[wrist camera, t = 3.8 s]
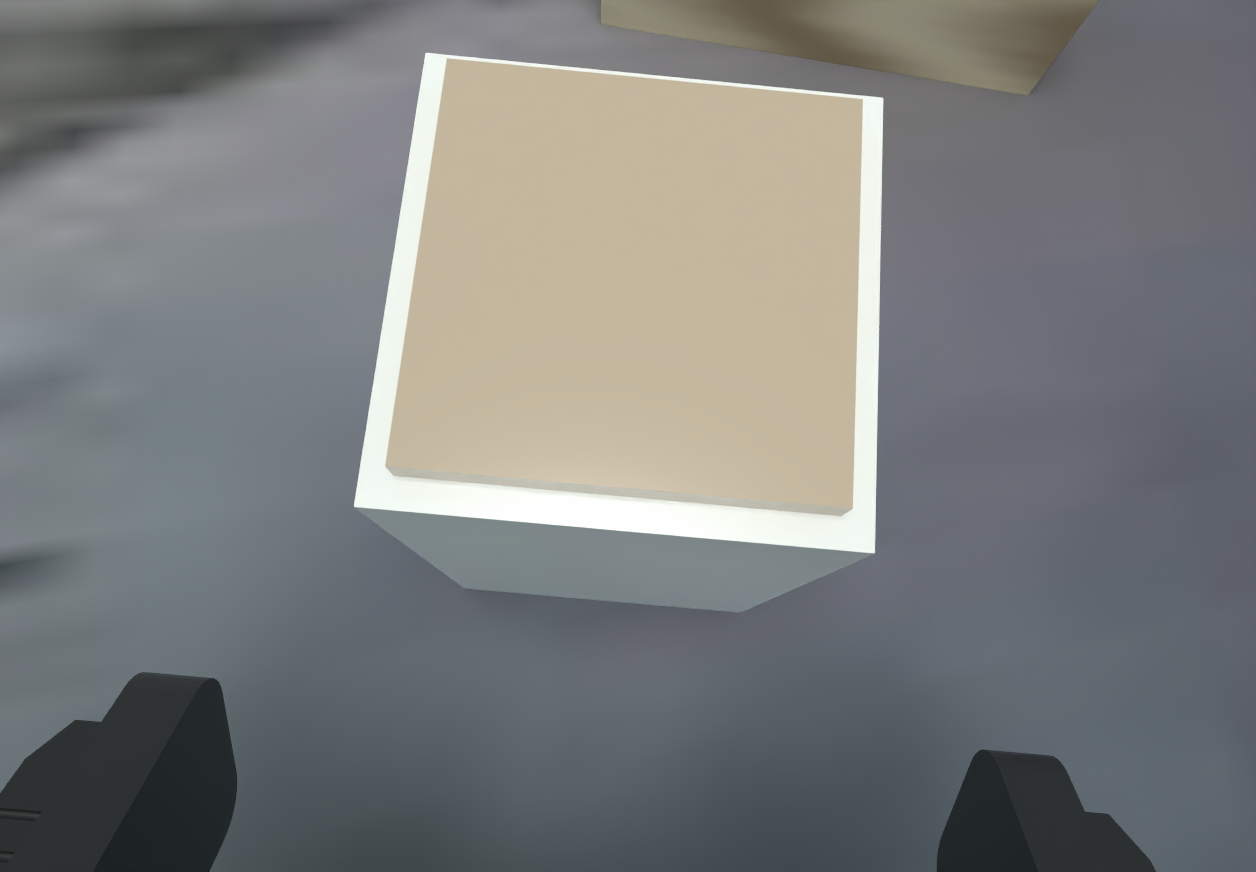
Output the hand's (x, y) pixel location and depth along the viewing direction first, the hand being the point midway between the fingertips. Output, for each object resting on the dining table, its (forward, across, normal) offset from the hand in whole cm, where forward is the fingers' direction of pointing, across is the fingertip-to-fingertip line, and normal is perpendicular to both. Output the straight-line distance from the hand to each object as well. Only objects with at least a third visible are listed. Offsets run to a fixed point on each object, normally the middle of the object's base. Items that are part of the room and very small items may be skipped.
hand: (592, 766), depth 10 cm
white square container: (+11, 0, +3) cm, 11 cm away
